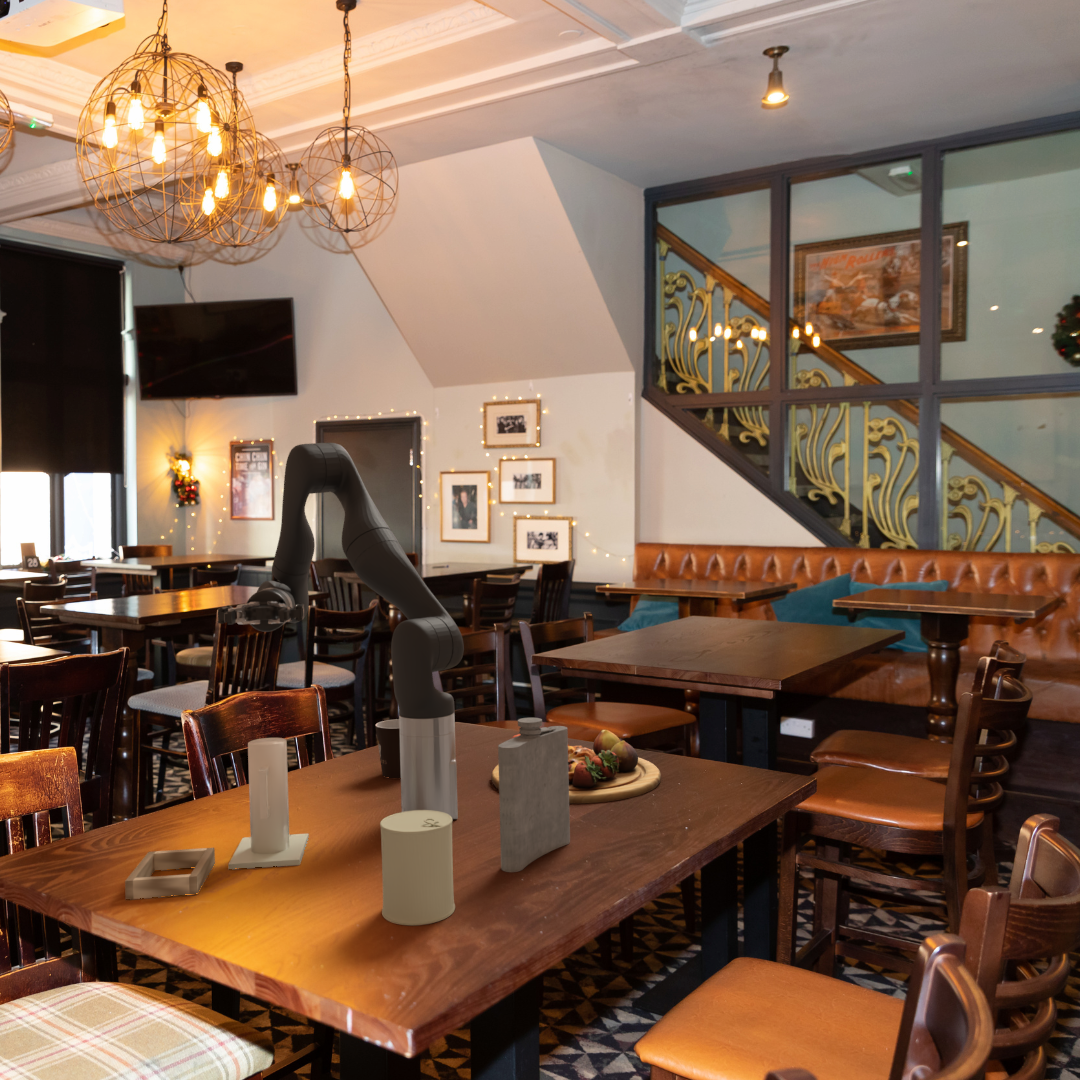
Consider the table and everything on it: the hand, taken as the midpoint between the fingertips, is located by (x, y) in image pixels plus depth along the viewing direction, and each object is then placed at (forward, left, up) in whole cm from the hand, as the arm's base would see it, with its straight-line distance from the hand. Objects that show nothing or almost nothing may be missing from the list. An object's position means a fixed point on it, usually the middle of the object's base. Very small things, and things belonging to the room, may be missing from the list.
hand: (255, 617), depth 164 cm
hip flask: (-43, +26, -34) cm, 61 cm away
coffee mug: (-23, -26, -34) cm, 49 cm away
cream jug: (-4, +19, -33) cm, 39 cm away
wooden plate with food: (-56, -14, -35) cm, 67 cm away
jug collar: (+8, +27, -34) cm, 44 cm away
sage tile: (-4, +18, -34) cm, 39 cm away
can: (-26, +44, -34) cm, 62 cm away
